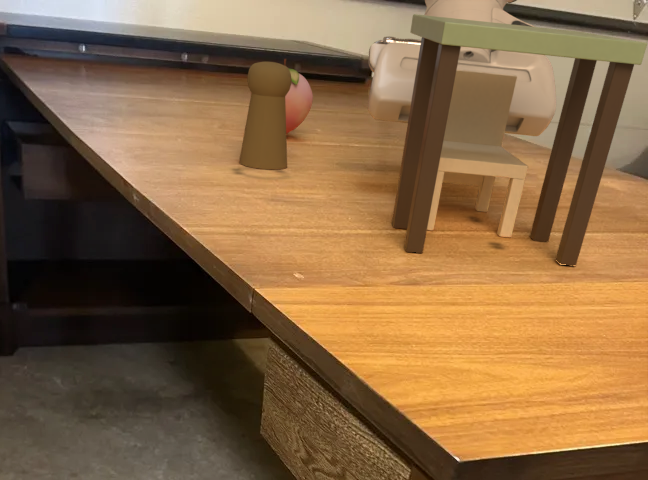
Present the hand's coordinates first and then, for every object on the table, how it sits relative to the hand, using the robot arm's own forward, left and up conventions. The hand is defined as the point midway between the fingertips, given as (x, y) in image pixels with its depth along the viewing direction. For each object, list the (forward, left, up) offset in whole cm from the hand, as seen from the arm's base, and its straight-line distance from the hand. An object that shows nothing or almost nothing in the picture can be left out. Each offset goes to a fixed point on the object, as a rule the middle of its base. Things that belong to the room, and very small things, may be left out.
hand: (459, 157), depth 88 cm
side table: (0, +14, -5) cm, 15 cm away
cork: (+21, -14, -5) cm, 26 cm away
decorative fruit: (+19, -36, -5) cm, 41 cm away
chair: (+1, +7, -5) cm, 8 cm away
